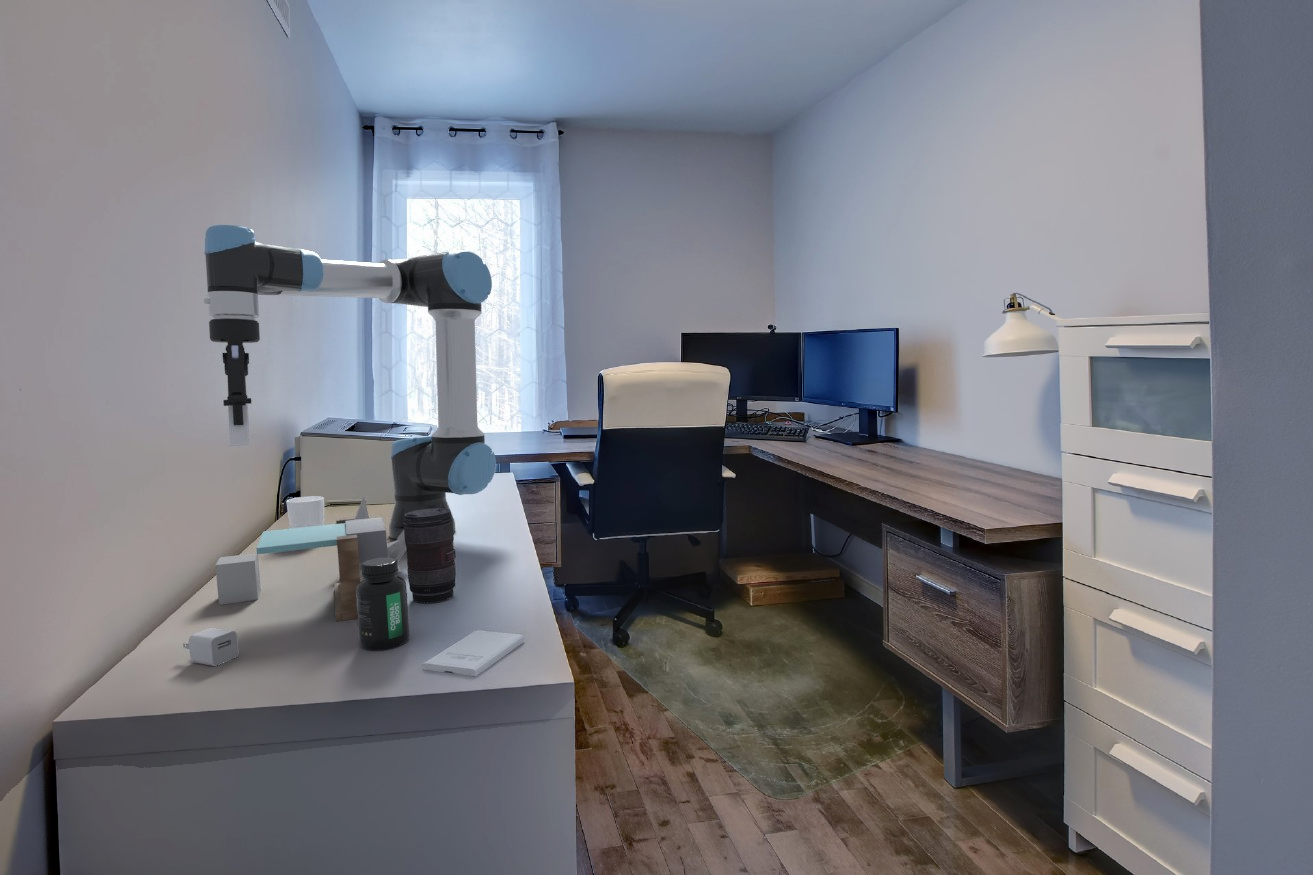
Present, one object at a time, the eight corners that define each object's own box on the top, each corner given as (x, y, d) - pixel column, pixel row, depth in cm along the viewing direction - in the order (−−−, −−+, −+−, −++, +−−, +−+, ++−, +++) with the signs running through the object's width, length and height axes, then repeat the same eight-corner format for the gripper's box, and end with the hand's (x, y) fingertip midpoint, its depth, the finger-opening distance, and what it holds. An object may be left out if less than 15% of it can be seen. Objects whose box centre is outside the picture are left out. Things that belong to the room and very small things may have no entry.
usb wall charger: (212, 667, 104) (210, 639, 104) (178, 661, 107) (175, 633, 106) (239, 657, 108) (236, 629, 107) (204, 651, 110) (202, 624, 110)
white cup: (317, 545, 174) (314, 501, 173) (283, 546, 175) (279, 502, 174) (332, 537, 182) (329, 495, 181) (299, 538, 182) (296, 496, 181)
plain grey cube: (260, 590, 140) (257, 553, 139) (258, 599, 134) (254, 560, 134) (223, 595, 138) (220, 557, 137) (218, 604, 132) (215, 565, 131)
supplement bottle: (409, 647, 109) (403, 564, 108) (357, 654, 107) (351, 570, 106) (410, 631, 116) (405, 553, 114) (361, 637, 114) (356, 558, 112)
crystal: (409, 575, 147) (404, 498, 145) (335, 581, 144) (329, 503, 143) (414, 562, 156) (409, 490, 155) (345, 568, 154) (340, 494, 152)
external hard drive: (524, 645, 110) (475, 680, 98) (475, 640, 113) (422, 673, 101) (523, 634, 110) (475, 668, 98) (474, 629, 113) (421, 661, 101)
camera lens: (442, 587, 138) (437, 505, 136) (466, 596, 132) (461, 510, 131) (400, 598, 132) (394, 512, 131) (423, 608, 127) (417, 518, 125)
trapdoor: (383, 543, 139) (381, 516, 138) (388, 560, 126) (386, 530, 126) (265, 557, 131) (263, 528, 131) (258, 576, 119) (256, 545, 119)
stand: (364, 585, 141) (359, 515, 139) (369, 616, 123) (364, 536, 122) (335, 589, 139) (329, 518, 137) (336, 621, 121) (329, 540, 120)
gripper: (212, 323, 141) (218, 439, 142) (204, 311, 119) (211, 448, 120) (258, 324, 144) (264, 437, 146) (259, 313, 122) (265, 446, 124)
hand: (240, 443), depth 133 cm, fingers open, 13 cm apart
